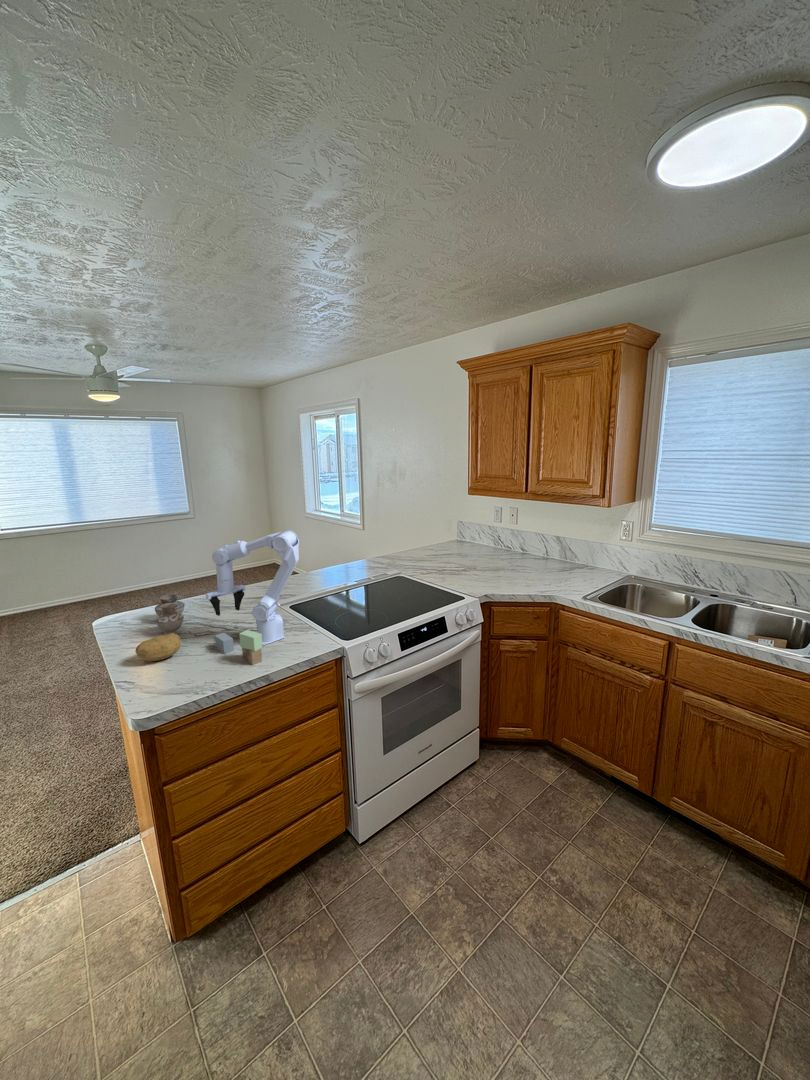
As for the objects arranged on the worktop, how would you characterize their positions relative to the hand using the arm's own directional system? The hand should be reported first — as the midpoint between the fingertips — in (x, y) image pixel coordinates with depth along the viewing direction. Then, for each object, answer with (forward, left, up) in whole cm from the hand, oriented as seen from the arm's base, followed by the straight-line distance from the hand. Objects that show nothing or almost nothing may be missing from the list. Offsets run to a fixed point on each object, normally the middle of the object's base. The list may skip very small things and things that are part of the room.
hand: (227, 612), depth 168 cm
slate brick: (+6, +8, -11) cm, 15 cm away
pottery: (+12, -28, -11) cm, 32 cm away
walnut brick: (+3, +23, -11) cm, 26 cm away
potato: (+25, -1, -11) cm, 27 cm away
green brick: (+3, +23, -6) cm, 24 cm away
